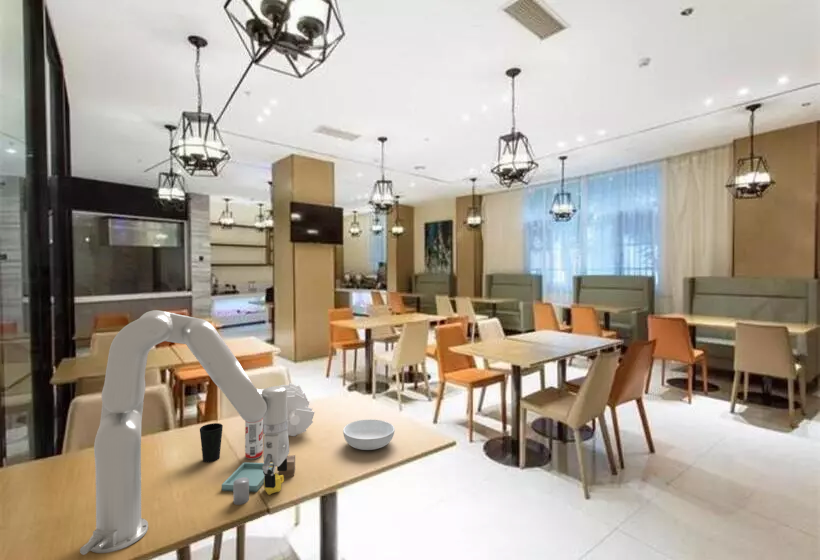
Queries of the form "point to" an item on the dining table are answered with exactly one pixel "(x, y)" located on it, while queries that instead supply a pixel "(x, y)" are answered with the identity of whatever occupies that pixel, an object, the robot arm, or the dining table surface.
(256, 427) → the beer can
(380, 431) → the serving bowl
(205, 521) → the dining table surface
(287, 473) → the walnut cube
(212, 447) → the cup
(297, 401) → the spiral staircase
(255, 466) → the tray
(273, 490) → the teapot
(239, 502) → the grey cylinder
